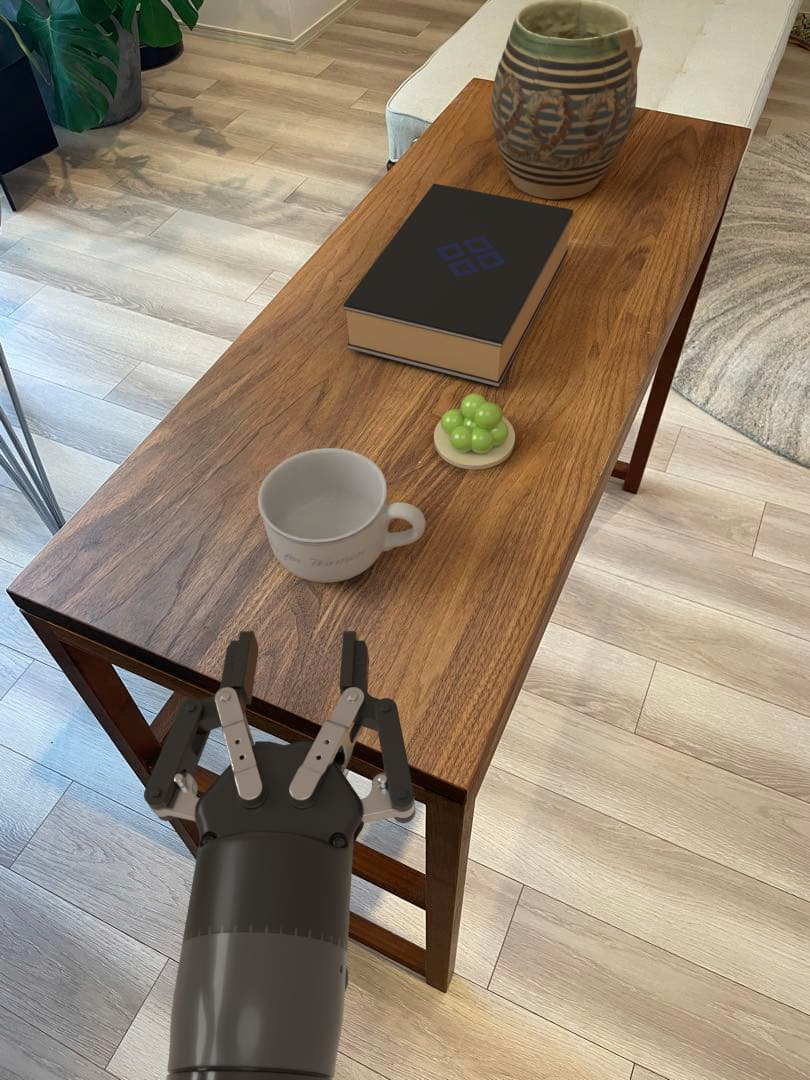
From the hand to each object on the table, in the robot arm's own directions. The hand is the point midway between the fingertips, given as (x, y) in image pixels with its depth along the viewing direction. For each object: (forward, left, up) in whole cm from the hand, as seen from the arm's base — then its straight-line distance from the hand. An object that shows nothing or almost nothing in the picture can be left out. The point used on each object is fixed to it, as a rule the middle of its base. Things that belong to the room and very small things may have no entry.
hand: (299, 638), depth 48 cm
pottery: (+44, +73, -18) cm, 88 cm away
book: (+25, +50, -18) cm, 59 cm away
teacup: (+5, +19, -18) cm, 27 cm away
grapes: (+20, +29, -18) cm, 40 cm away
